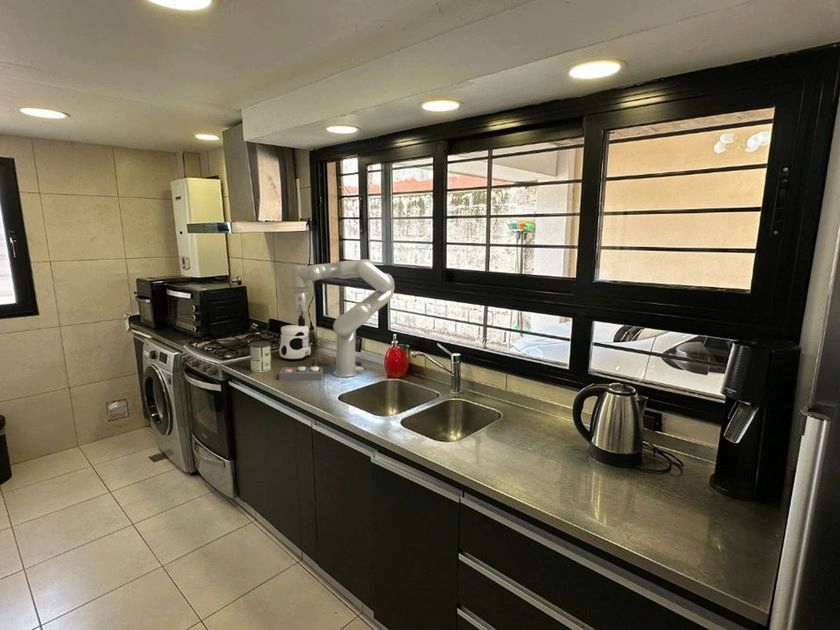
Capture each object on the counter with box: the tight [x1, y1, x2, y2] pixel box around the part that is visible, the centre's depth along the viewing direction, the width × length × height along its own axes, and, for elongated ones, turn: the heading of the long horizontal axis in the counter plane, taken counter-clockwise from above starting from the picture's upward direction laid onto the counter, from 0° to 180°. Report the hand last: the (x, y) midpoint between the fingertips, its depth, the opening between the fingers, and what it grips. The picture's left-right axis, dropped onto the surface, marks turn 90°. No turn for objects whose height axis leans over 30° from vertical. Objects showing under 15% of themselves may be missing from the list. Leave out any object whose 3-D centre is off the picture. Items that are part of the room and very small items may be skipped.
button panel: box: [278, 366, 324, 381], centre depth 216 cm, size 20×10×4 cm, turn 97°
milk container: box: [278, 324, 312, 361], centre depth 248 cm, size 17×17×18 cm
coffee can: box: [249, 340, 272, 373], centre depth 225 cm, size 10×10×14 cm
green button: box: [296, 365, 306, 372], centre depth 216 cm, size 4×4×2 cm
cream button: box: [310, 365, 319, 372], centre depth 217 cm, size 4×4×2 cm
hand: (301, 325), depth 220 cm, fingers closed
